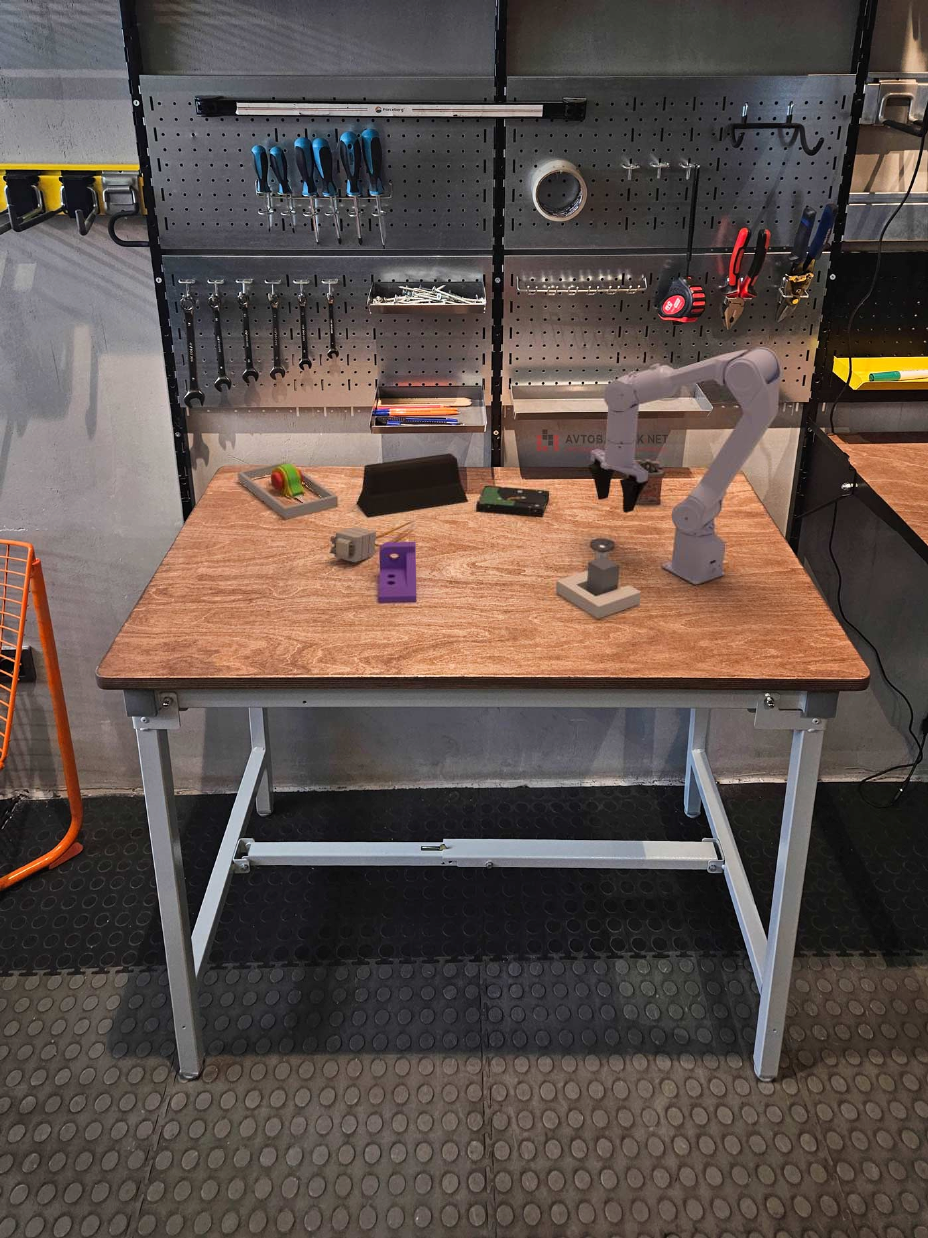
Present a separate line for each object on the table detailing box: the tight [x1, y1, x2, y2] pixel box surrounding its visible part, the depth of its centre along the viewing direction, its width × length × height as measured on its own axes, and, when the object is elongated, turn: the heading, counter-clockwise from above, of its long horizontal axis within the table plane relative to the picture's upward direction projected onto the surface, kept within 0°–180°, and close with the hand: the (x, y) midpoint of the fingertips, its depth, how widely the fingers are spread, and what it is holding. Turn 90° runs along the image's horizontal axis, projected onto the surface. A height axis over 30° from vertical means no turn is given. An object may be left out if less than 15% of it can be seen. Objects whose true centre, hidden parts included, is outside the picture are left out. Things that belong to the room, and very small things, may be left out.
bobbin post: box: [589, 537, 616, 560], centre depth 195 cm, size 5×5×6 cm
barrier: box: [355, 452, 469, 519], centre depth 224 cm, size 24×9×10 cm, turn 112°
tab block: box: [586, 557, 621, 596], centre depth 186 cm, size 4×4×7 cm
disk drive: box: [475, 485, 550, 518], centre depth 224 cm, size 10×3×15 cm
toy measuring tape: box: [270, 462, 313, 503], centre depth 228 cm, size 6×20×7 cm, turn 39°
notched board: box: [555, 570, 642, 620], centre depth 187 cm, size 12×10×2 cm
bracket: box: [378, 541, 417, 604], centre depth 190 cm, size 12×7×7 cm, turn 3°
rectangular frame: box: [237, 460, 339, 520], centre depth 230 cm, size 26×13×2 cm, turn 34°
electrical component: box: [329, 519, 419, 563], centre depth 207 cm, size 24×6×5 cm, turn 150°
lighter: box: [626, 458, 665, 507], centre depth 224 cm, size 8×3×10 cm, turn 84°
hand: (615, 504), depth 201 cm, fingers open, 7 cm apart
